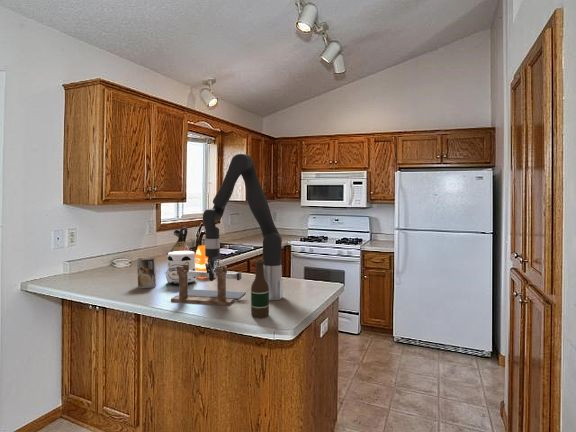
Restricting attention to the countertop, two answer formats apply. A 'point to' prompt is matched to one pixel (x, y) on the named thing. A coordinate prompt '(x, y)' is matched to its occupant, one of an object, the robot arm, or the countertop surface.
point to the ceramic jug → (180, 240)
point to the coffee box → (146, 272)
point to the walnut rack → (202, 300)
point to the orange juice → (200, 259)
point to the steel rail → (205, 274)
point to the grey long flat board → (214, 294)
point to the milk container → (177, 260)
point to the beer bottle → (259, 293)
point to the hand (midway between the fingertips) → (212, 279)
